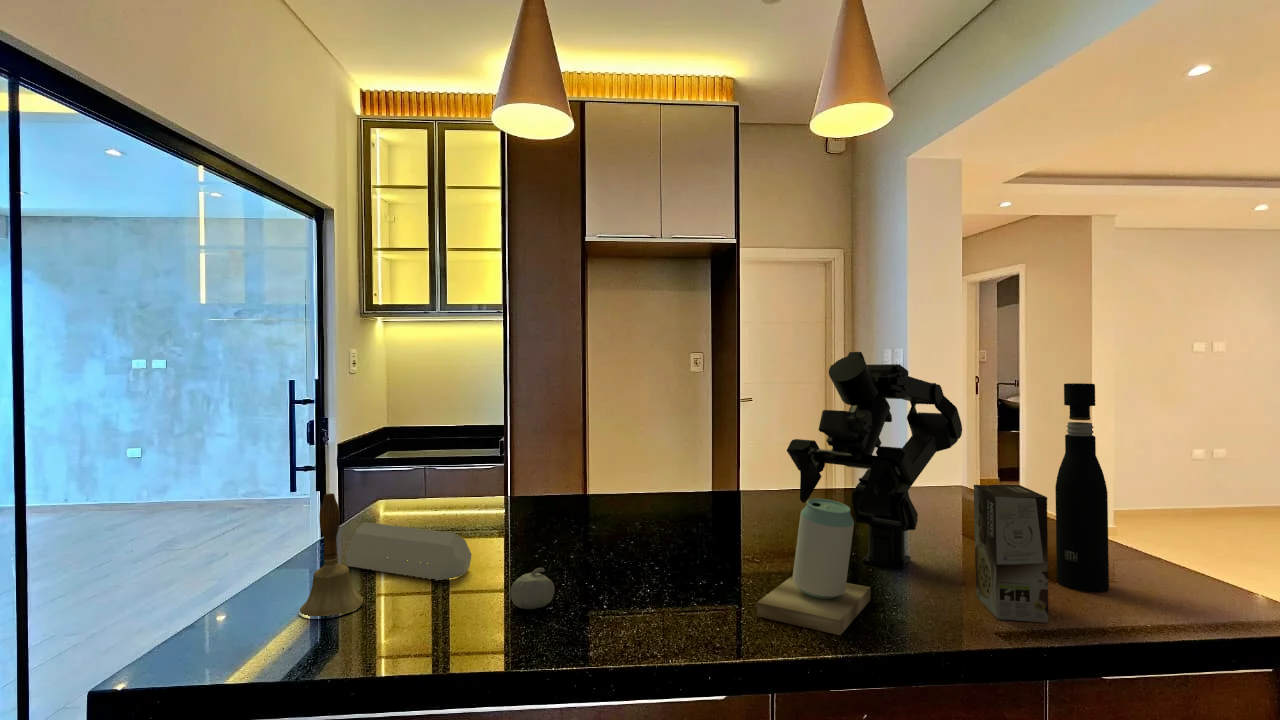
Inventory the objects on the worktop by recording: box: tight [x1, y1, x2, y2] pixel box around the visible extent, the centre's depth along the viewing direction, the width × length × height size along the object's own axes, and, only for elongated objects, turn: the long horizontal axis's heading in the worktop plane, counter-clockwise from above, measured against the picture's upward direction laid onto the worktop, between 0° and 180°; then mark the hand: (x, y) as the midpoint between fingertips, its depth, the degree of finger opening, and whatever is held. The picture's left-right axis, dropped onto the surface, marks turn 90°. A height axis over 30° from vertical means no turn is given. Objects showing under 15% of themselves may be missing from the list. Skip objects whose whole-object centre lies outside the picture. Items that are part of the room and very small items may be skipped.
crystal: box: [345, 521, 472, 581], centre depth 105 cm, size 7×7×24 cm
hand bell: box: [299, 493, 364, 616], centre depth 89 cm, size 8×8×16 cm
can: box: [792, 498, 855, 599], centre depth 87 cm, size 7×7×12 cm
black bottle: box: [1054, 382, 1110, 594], centre depth 95 cm, size 6×6×30 cm
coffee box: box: [973, 484, 1049, 624], centre depth 86 cm, size 9×6×16 cm
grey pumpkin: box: [510, 567, 555, 610], centre depth 89 cm, size 6×5×5 cm
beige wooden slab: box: [756, 575, 871, 636], centre depth 87 cm, size 14×11×2 cm
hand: (829, 505), depth 93 cm, fingers open, 9 cm apart
